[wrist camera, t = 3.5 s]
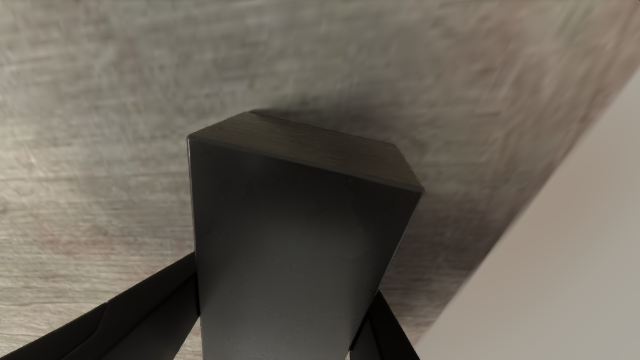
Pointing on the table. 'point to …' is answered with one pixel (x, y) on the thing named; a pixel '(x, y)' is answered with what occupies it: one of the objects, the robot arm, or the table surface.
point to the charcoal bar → (292, 235)
